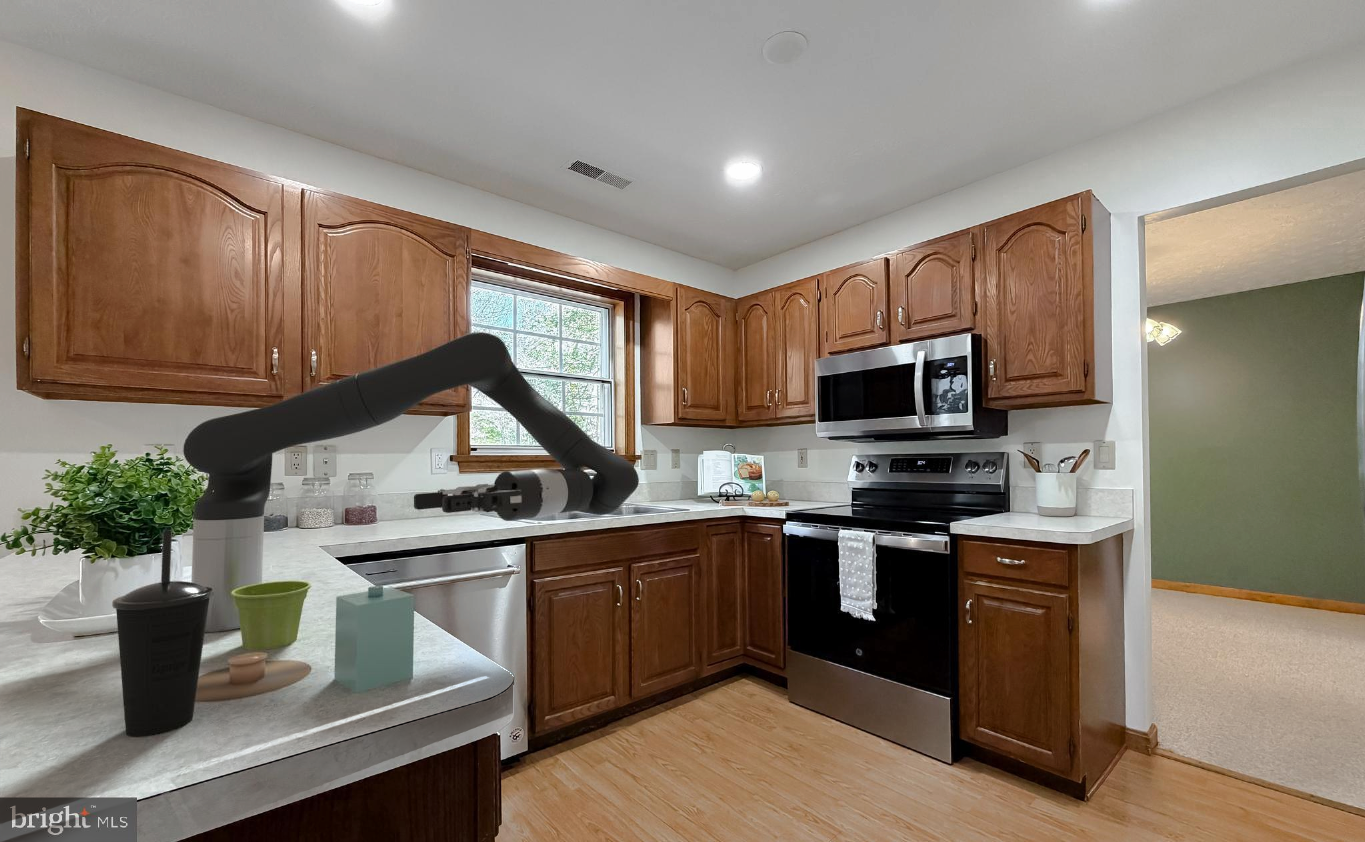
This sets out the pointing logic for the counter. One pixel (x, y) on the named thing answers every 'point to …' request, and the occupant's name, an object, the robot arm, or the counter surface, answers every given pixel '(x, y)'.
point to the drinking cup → (161, 650)
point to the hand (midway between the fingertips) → (428, 503)
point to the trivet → (275, 678)
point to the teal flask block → (374, 638)
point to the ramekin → (247, 667)
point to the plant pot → (270, 613)
